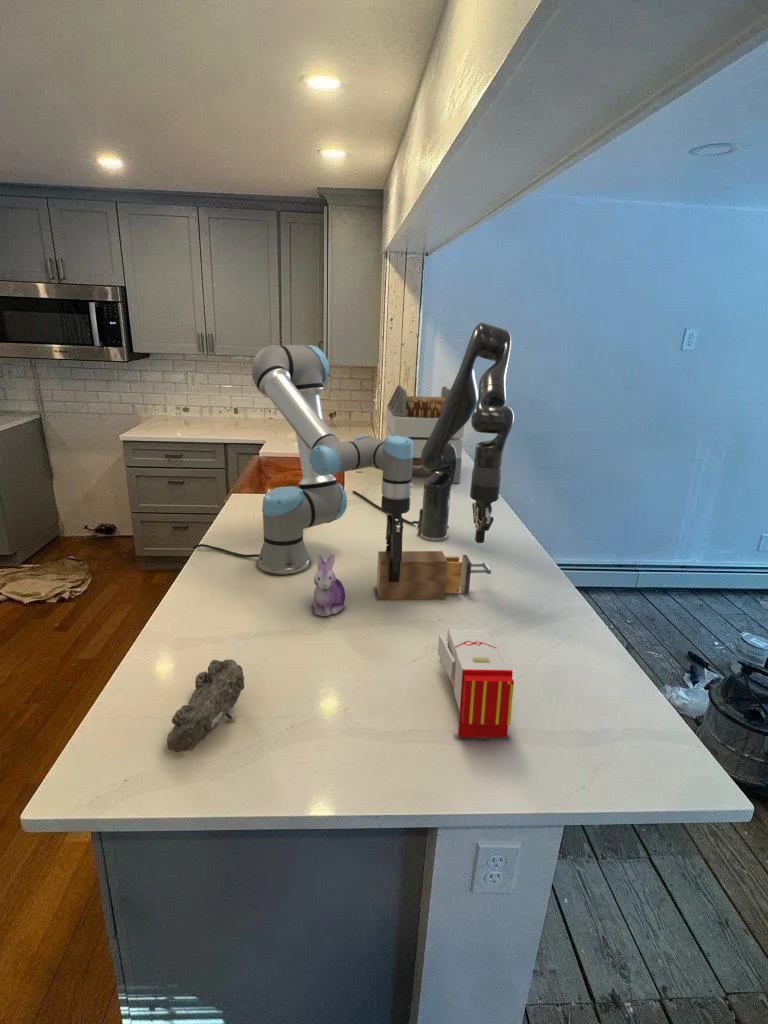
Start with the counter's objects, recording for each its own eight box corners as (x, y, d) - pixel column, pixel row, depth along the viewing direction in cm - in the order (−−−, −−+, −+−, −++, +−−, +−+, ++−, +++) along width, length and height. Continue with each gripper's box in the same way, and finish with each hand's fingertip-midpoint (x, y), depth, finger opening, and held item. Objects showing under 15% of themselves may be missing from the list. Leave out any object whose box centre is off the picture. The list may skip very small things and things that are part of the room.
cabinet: (439, 587, 163) (442, 551, 159) (444, 598, 156) (447, 561, 152) (376, 587, 161) (378, 551, 157) (378, 599, 154) (380, 561, 151)
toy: (488, 613, 130) (523, 677, 101) (484, 667, 133) (517, 744, 104) (435, 612, 130) (455, 676, 101) (432, 666, 133) (451, 743, 103)
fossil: (192, 660, 117) (244, 628, 112) (224, 691, 120) (276, 661, 115) (142, 746, 98) (202, 712, 93) (182, 779, 101) (242, 748, 96)
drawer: (483, 585, 163) (487, 554, 160) (489, 594, 158) (492, 563, 155) (404, 585, 161) (406, 555, 157) (407, 595, 156) (409, 563, 152)
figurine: (319, 621, 142) (319, 567, 137) (305, 602, 151) (304, 551, 146) (353, 613, 146) (354, 560, 141) (337, 596, 155) (338, 545, 150)
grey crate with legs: (382, 463, 289) (386, 382, 275) (445, 464, 293) (451, 384, 279) (390, 482, 257) (394, 392, 243) (460, 483, 261) (468, 394, 247)
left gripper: (416, 509, 139) (411, 592, 147) (404, 484, 159) (400, 558, 166) (386, 509, 138) (382, 592, 146) (378, 484, 158) (375, 558, 165)
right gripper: (507, 489, 144) (499, 551, 150) (492, 474, 156) (486, 533, 162) (478, 489, 143) (471, 551, 149) (465, 474, 155) (460, 533, 161)
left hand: (392, 574), depth 156 cm, fingers open, 8 cm apart
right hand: (479, 542), depth 155 cm, fingers closed
